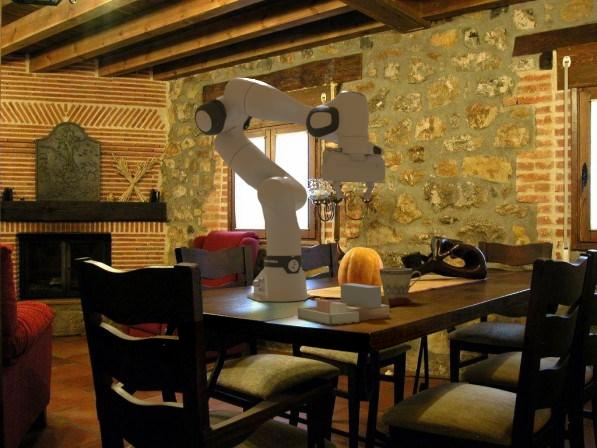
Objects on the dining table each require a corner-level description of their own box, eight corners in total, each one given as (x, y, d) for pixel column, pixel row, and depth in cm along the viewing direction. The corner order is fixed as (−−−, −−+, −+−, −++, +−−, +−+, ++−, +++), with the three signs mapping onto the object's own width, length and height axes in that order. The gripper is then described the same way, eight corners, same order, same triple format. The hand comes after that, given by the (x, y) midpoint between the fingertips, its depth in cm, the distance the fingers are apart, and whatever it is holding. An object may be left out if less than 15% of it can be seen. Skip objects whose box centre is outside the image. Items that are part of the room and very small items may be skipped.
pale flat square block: (327, 315, 160) (327, 304, 160) (360, 312, 166) (360, 300, 166) (355, 321, 150) (355, 309, 150) (389, 317, 156) (389, 305, 156)
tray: (297, 317, 157) (297, 308, 157) (325, 315, 161) (325, 305, 161) (330, 325, 144) (330, 314, 144) (358, 322, 149) (358, 311, 149)
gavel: (399, 292, 188) (426, 295, 180) (399, 307, 187) (425, 310, 180) (352, 293, 174) (378, 296, 166) (351, 309, 174) (378, 312, 166)
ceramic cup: (383, 303, 183) (383, 270, 183) (376, 299, 193) (376, 268, 193) (426, 302, 185) (425, 269, 185) (416, 298, 194) (416, 267, 194)
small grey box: (381, 306, 154) (381, 286, 154) (368, 307, 152) (368, 287, 152) (352, 301, 164) (352, 283, 164) (340, 303, 162) (340, 284, 162)
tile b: (336, 318, 153) (330, 318, 152) (336, 302, 153) (329, 302, 152) (346, 320, 150) (339, 320, 149) (345, 303, 150) (339, 304, 149)
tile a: (323, 315, 159) (316, 315, 157) (323, 299, 159) (316, 300, 158) (332, 316, 155) (325, 317, 154) (331, 301, 155) (325, 301, 154)
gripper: (329, 145, 163) (329, 197, 163) (388, 149, 174) (389, 198, 174) (316, 148, 168) (316, 198, 168) (374, 152, 179) (374, 199, 179)
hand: (353, 198), depth 171 cm, fingers open, 8 cm apart
